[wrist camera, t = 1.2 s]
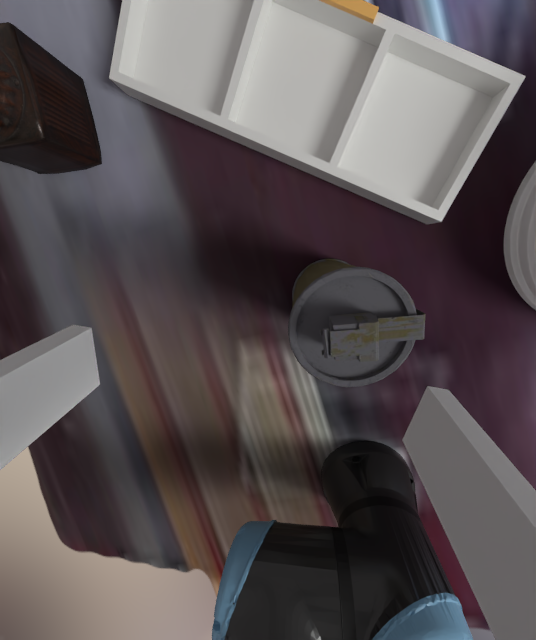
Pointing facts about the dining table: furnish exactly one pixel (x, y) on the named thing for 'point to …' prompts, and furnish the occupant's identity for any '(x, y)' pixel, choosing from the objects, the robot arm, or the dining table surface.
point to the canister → (351, 323)
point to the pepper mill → (42, 109)
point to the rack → (321, 90)
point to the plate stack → (522, 239)
